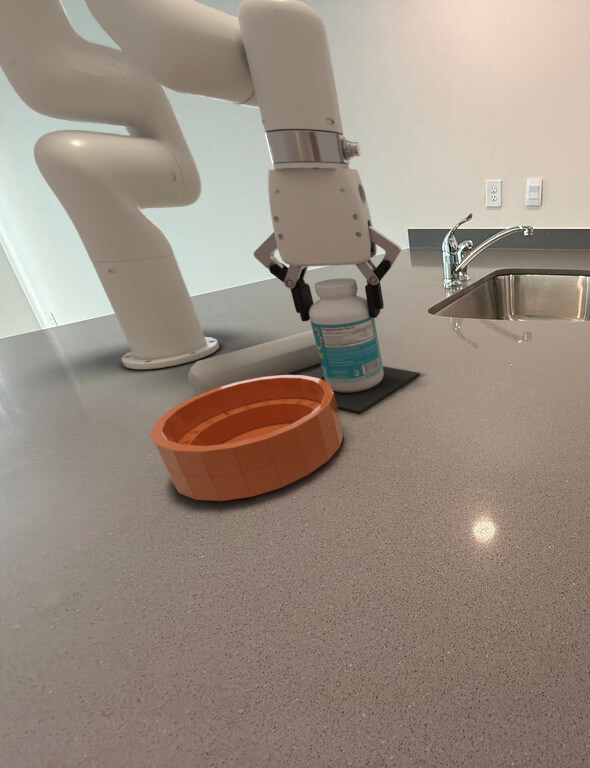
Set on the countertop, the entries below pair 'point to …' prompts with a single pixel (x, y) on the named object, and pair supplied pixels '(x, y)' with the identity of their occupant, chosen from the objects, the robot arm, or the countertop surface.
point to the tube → (255, 362)
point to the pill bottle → (345, 337)
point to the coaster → (374, 391)
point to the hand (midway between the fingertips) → (342, 315)
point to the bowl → (248, 436)
